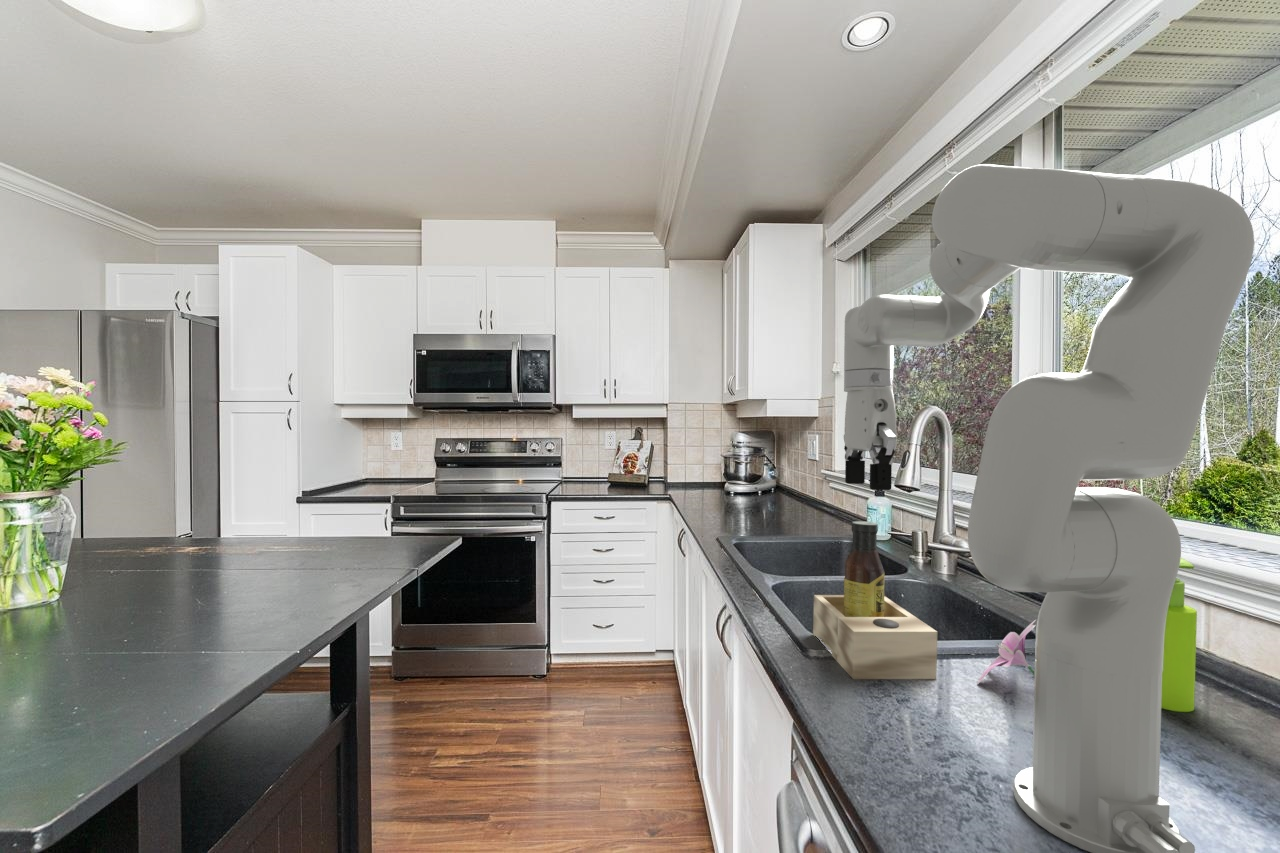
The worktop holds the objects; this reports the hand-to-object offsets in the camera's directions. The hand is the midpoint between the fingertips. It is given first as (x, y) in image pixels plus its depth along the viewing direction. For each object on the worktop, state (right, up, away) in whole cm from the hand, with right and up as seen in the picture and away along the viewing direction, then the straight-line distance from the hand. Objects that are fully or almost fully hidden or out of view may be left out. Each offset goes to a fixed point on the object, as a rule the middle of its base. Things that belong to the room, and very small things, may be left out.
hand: (867, 486), depth 95 cm
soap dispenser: (+34, -28, -16) cm, 47 cm away
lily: (+17, -28, -11) cm, 34 cm away
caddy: (0, -27, -2) cm, 27 cm away
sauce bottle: (0, -26, +1) cm, 26 cm away
